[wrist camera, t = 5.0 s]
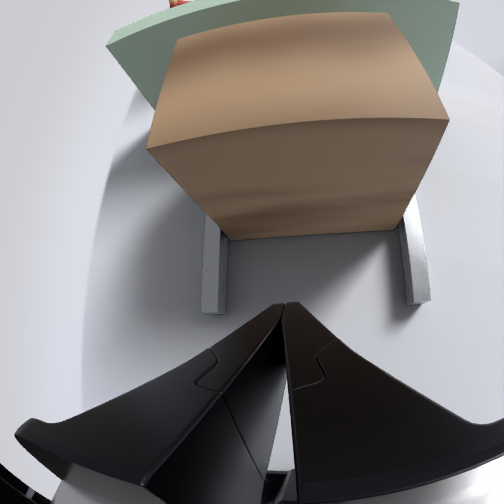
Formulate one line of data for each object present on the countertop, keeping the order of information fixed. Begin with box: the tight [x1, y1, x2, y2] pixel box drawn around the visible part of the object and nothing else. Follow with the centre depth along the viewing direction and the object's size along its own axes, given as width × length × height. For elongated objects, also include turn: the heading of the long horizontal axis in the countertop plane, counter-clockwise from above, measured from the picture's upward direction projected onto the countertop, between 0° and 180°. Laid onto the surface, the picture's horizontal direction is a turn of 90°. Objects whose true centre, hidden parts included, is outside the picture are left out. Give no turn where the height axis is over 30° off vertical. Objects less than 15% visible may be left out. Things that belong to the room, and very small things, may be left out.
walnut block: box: [146, 12, 450, 240], centre depth 14 cm, size 7×10×10 cm
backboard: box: [106, 0, 459, 110], centre depth 16 cm, size 2×22×10 cm, turn 90°
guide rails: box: [201, 194, 431, 314], centre depth 18 cm, size 15×13×2 cm
